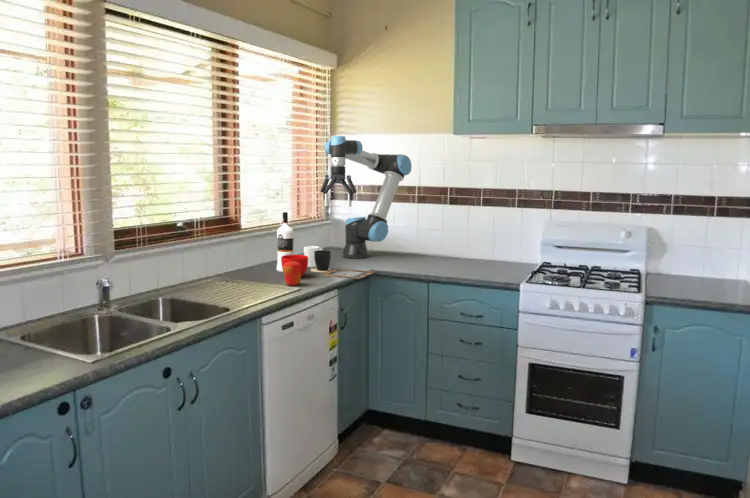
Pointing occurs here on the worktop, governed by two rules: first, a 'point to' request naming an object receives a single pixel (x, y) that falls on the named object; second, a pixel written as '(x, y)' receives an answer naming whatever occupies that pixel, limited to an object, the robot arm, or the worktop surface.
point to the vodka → (284, 241)
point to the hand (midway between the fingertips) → (338, 206)
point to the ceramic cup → (297, 258)
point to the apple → (292, 272)
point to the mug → (322, 259)
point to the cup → (311, 254)
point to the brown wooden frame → (348, 274)
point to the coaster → (319, 271)
